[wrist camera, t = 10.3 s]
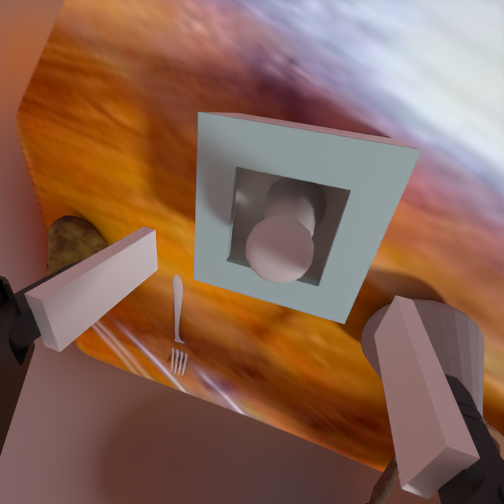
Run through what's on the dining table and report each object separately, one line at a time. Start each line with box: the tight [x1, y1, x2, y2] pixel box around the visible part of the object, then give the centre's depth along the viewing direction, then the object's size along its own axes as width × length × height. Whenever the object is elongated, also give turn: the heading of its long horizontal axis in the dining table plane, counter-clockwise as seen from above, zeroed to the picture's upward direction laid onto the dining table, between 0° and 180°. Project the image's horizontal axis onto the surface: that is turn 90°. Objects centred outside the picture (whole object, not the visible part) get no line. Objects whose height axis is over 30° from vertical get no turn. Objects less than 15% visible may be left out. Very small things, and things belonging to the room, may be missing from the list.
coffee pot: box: [361, 299, 504, 504], centre depth 26 cm, size 21×12×15 cm, turn 164°
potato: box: [47, 216, 108, 275], centre depth 36 cm, size 8×13×8 cm, turn 173°
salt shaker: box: [246, 177, 326, 283], centre depth 21 cm, size 6×6×13 cm
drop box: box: [194, 112, 422, 324], centre depth 23 cm, size 14×14×9 cm
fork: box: [171, 275, 187, 376], centre depth 41 cm, size 3×24×2 cm, turn 173°
